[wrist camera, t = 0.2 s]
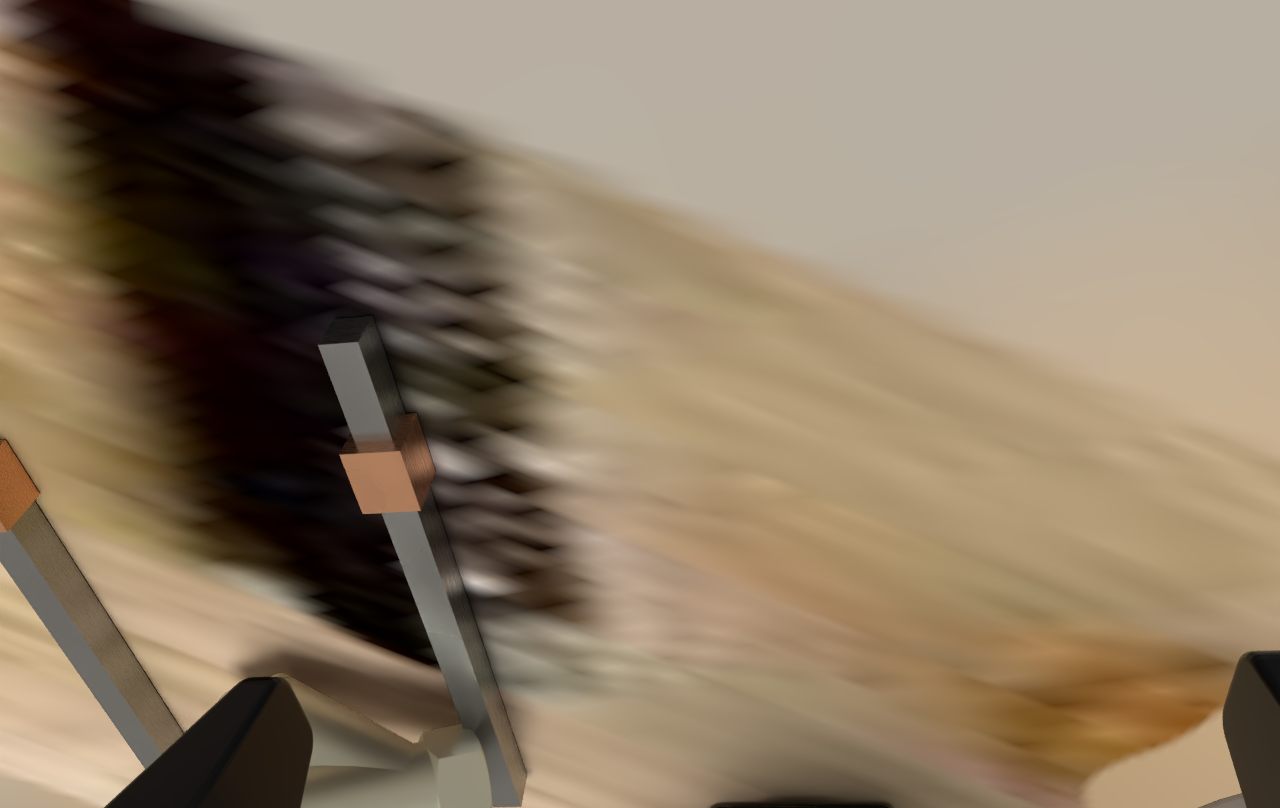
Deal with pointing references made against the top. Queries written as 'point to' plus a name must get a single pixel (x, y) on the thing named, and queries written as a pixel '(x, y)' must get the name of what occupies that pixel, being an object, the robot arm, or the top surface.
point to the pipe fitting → (387, 762)
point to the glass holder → (1228, 802)
